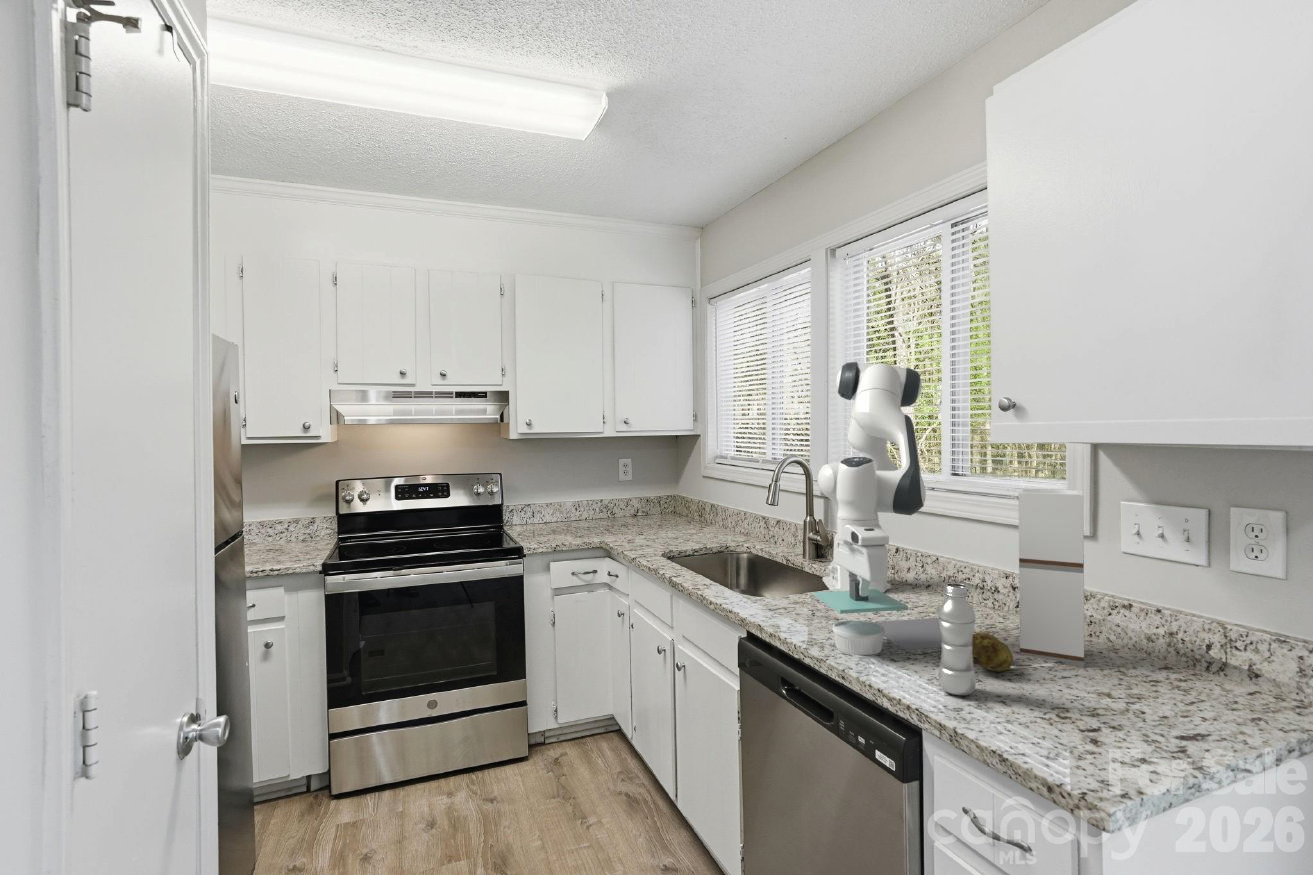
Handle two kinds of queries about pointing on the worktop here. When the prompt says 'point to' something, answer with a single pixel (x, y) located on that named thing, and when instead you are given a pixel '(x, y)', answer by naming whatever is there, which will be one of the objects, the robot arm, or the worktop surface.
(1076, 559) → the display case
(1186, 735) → the worktop surface
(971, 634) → the plastic bottle
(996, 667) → the potato
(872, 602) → the lid
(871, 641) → the ramekin
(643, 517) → the worktop surface
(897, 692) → the worktop surface
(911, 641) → the mat
